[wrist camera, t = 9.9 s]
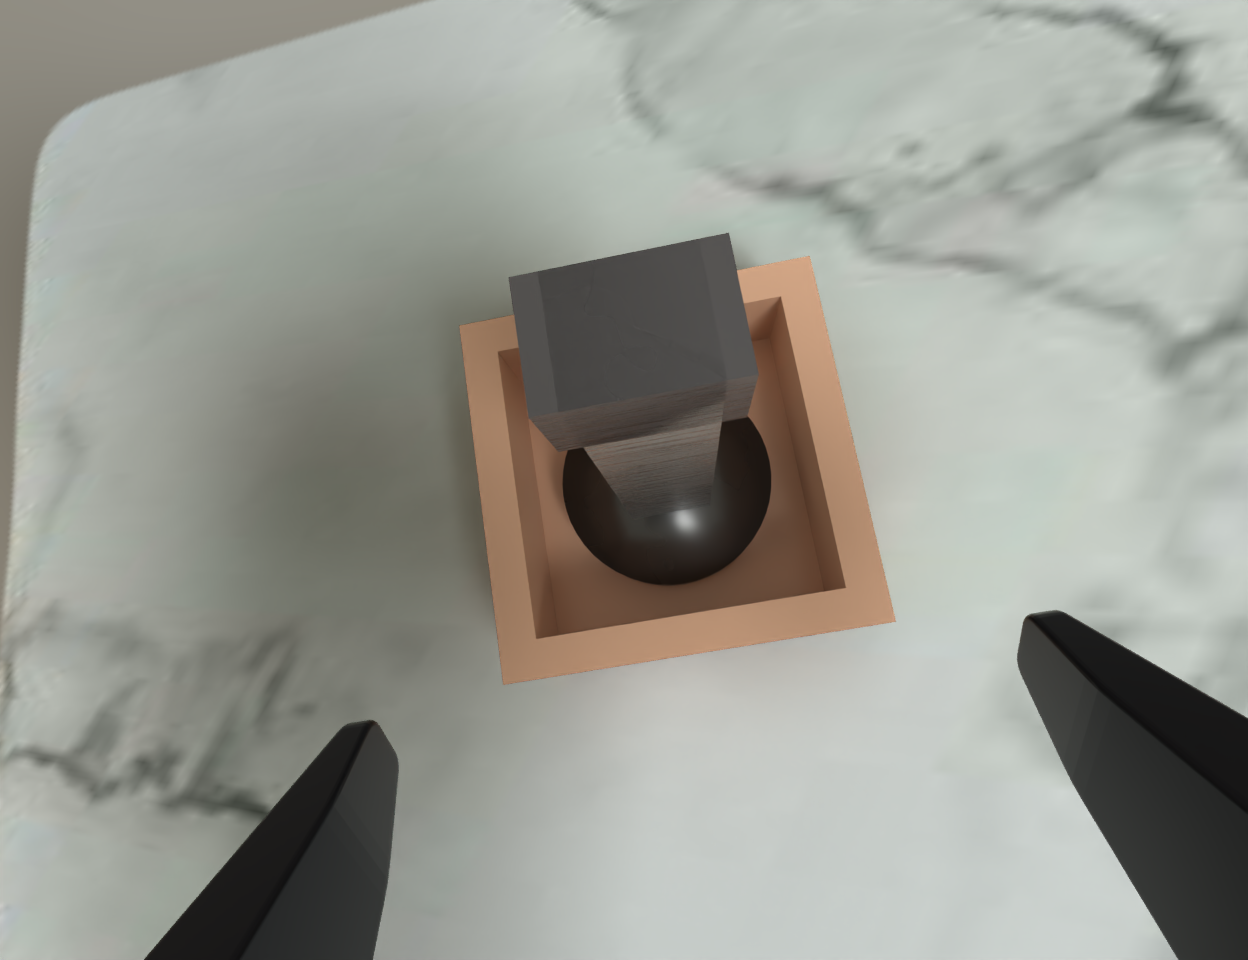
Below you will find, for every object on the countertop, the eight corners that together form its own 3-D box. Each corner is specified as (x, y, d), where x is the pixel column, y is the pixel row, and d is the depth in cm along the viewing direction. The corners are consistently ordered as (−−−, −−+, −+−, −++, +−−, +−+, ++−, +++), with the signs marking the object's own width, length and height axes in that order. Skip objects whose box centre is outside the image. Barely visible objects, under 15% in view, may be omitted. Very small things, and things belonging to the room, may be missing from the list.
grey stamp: (784, 567, 20) (917, 508, 8) (586, 600, 21) (433, 591, 9) (744, 378, 22) (810, 79, 9) (559, 413, 22) (388, 170, 10)
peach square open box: (858, 619, 21) (896, 621, 17) (537, 670, 22) (503, 684, 18) (790, 316, 23) (809, 256, 19) (498, 372, 24) (459, 325, 20)
